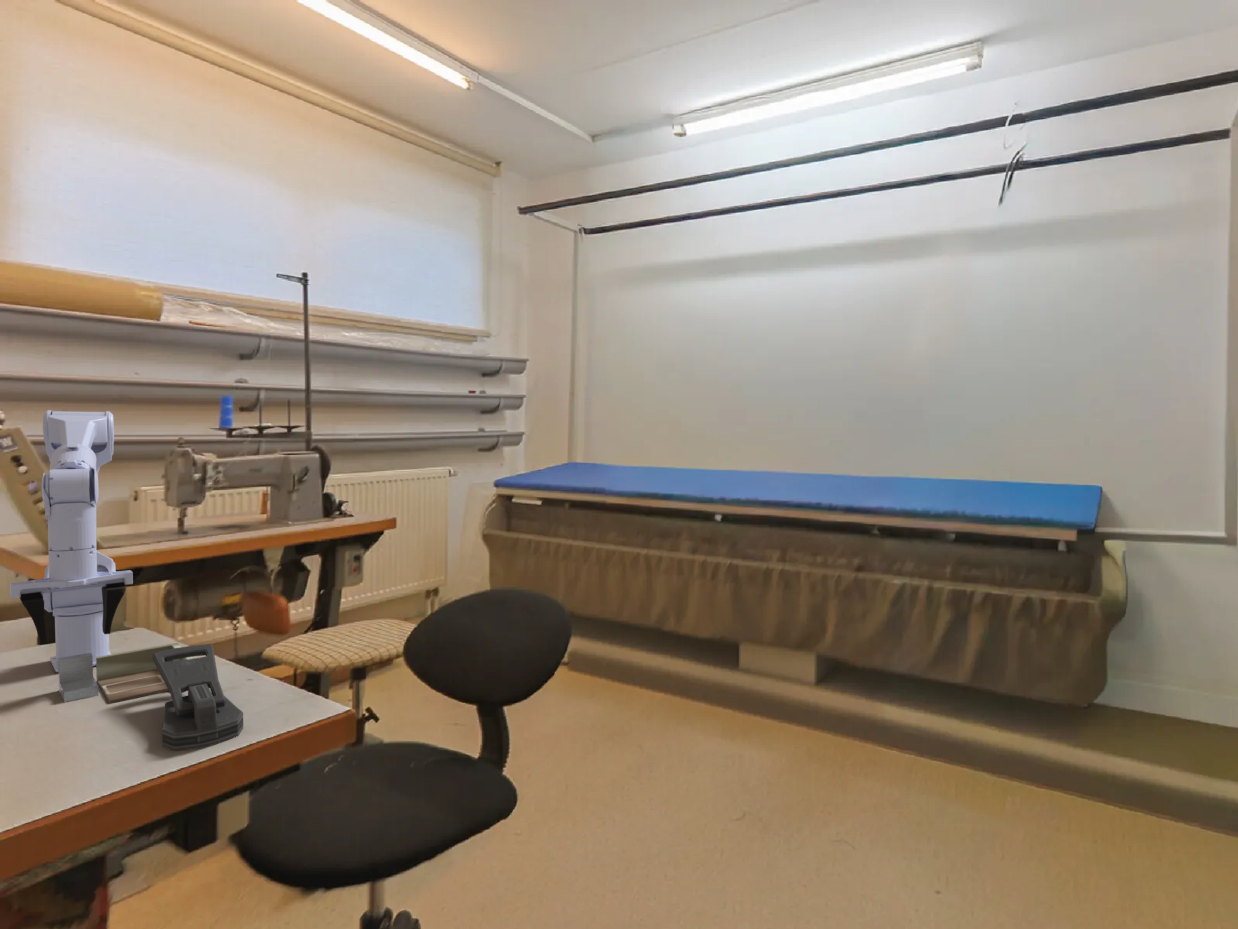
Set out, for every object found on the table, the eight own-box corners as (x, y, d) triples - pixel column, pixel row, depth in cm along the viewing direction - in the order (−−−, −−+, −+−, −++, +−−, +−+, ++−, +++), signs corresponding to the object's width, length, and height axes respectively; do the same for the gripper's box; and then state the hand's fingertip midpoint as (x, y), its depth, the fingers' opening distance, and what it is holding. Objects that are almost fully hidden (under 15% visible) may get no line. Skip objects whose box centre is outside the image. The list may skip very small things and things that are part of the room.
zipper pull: (216, 641, 109) (247, 686, 89) (217, 683, 109) (248, 737, 90) (147, 652, 104) (164, 702, 84) (148, 696, 104) (165, 756, 84)
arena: (96, 681, 110) (96, 657, 110) (177, 665, 117) (177, 642, 117) (110, 703, 101) (109, 676, 101) (197, 684, 108) (196, 659, 108)
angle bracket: (59, 690, 106) (58, 658, 106) (91, 684, 109) (90, 652, 108) (64, 702, 101) (63, 668, 101) (98, 695, 104) (97, 662, 104)
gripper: (10, 557, 98) (14, 653, 98) (135, 546, 108) (137, 633, 108) (7, 551, 103) (10, 643, 103) (127, 541, 113) (129, 625, 113)
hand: (75, 637), depth 106 cm, fingers open, 7 cm apart
